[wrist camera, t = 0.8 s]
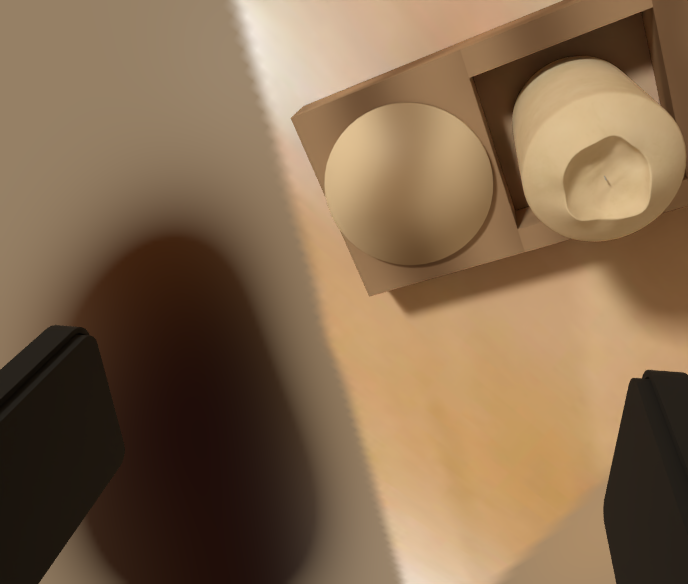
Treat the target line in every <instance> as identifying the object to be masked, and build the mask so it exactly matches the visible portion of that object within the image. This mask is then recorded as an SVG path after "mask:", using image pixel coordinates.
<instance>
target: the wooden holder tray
mask: <svg viewBox="0 0 688 584" xmlns="http://www.w3.org/2000/svg"><path fill="white" fill-rule="evenodd" d="M639 12H641V13H642V17H643V22H644V27H645V32H646V37H647V42H648V46H649V51H650V56H651V61H652V66H653V71H654V75H655V80H656V85H657V90H658V95H659V100H660V104H661V106H662V107H663V108H664V109H665V110H666V111H667V112H668V113H669V114H670V115H671V117H672V118H673V119H674V120H675V122H676V123H677V125H678V126H679V129H680V131H681V133H682V135H683V139H684V142H685V147H686V168H685V173H684V177H683V180H682V183H681V186H680V188H679V190H678V192H677V194H676V195H675V197H674V199H673V200H672V202H671V203H670V204H669V206H668V207H667V208H666V209H665V210H664V211H663V212H662V213H665V212H668V211H672V210H675V209H679V208H682V207H686V206H688V0H563V1H561V2H558V3H556V4H553V5H551V6H549V7H546V8H544V9H541V10H539V11H536V12H534V13H531V14H529V15H526V16H524V17H522V18H519V19H517V20H514V21H512V22H509V23H507V24H504V25H502V26H499V27H497V28H495V29H492V30H490V31H487V32H485V33H482V34H480V35H477V36H475V37H472V38H470V39H468V40H465V41H463V42H460V43H458V44H455V45H453V46H450V47H448V48H445V49H443V50H441V51H438V52H436V53H433V54H431V55H428V56H426V57H423V58H421V59H418V60H416V61H414V62H411V63H409V64H406V65H404V66H401V67H399V68H396V69H394V70H391V71H389V72H387V73H384V74H382V75H379V76H377V77H374V78H372V79H369V80H367V81H364V82H362V83H360V84H357V85H355V86H352V87H350V88H347V89H345V90H342V91H340V92H337V93H335V94H333V95H330V96H328V97H325V98H323V99H320V100H318V101H315V102H313V103H310V104H308V105H306V106H303V107H302V108H301V109H300V110H299V111H298V112H297V113H296V114H295V115H294V116H292V117H291V120H292V122H293V124H294V127H295V129H296V131H297V133H298V136H299V138H300V140H301V142H302V145H303V147H304V149H305V152H306V154H307V156H308V158H309V161H310V163H311V165H312V167H313V170H314V172H315V174H316V177H317V179H318V181H319V183H320V186H321V188H322V190H323V193H324V195H325V197H326V200H327V205H328V208H329V210H330V213H331V215H332V217H333V219H334V221H335V223H336V225H337V226H338V228H339V229H340V231H341V233H342V236H343V238H344V240H345V243H346V245H347V247H348V249H349V252H350V254H351V256H352V258H353V261H354V263H355V265H356V268H357V270H358V272H359V274H360V277H361V279H362V281H363V283H364V286H365V288H366V290H367V293H368V295H369V296H373V295H376V294H380V293H383V292H387V291H391V290H394V289H398V288H401V287H405V286H408V285H412V284H415V283H419V282H422V281H426V280H429V279H433V278H436V277H440V276H443V275H447V274H450V273H454V272H457V271H461V270H464V269H468V268H471V267H475V266H478V265H482V264H485V263H489V262H493V261H496V260H500V259H503V258H507V257H510V256H514V255H517V254H521V253H524V252H528V251H531V250H535V249H538V248H542V247H545V246H549V245H552V244H556V243H559V242H563V241H566V240H570V239H571V238H567V237H565V236H562V235H560V234H558V233H556V232H554V231H553V230H551V229H549V228H548V227H547V226H545V225H544V224H543V223H542V222H541V221H540V220H539V219H538V218H537V217H536V215H535V214H534V213H533V212H532V210H531V208H530V206H529V207H526V208H523V209H520V210H516V211H515V209H514V206H513V203H512V199H511V196H510V193H509V190H508V187H507V184H506V181H505V177H504V174H503V171H502V168H501V165H500V162H499V159H498V155H497V152H496V149H495V146H494V143H493V140H492V137H491V133H490V130H489V127H488V124H487V121H486V118H485V115H484V111H483V108H482V105H481V102H480V99H479V96H478V93H477V89H476V86H475V83H474V80H473V76H476V75H478V74H481V73H484V72H486V71H489V70H491V69H494V68H497V67H499V66H502V65H504V64H507V63H509V62H512V61H515V60H517V59H520V58H522V57H525V56H528V55H530V54H533V53H535V52H538V51H541V50H543V49H546V48H548V47H551V46H553V45H556V44H559V43H561V42H564V41H566V40H569V39H572V38H574V37H577V36H579V35H582V34H585V33H587V32H590V31H592V30H595V29H597V28H600V27H603V26H605V25H608V24H610V23H613V22H616V21H618V20H621V19H623V18H626V17H629V16H631V15H634V14H636V13H639Z"/></svg>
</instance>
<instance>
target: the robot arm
mask: <svg viewBox="0 0 688 584" xmlns="http://www.w3.org/2000/svg"><path fill="white" fill-rule="evenodd" d="M124 453H125V447H124V442H123V438H122V434H121V431H120V427H119V424H118V419H117V416H116V412H115V408H114V405H113V401H112V397H111V393H110V390H109V386H108V382H107V378H106V375H105V371H104V367H103V363H102V359H101V355H100V352H99V348H98V344H97V341H96V339H95V338H94V337H92V336H90V335H89V333H88V332H87V330H86V329H84V328H82V327H71V326H59V325H55V326H50V327H49V328H47V329H46V330H45V331H44V332H43V333H41V334H40V335H39V336H38V337H37V338H36V339H35V340H33V342H31V343H30V344H29V345H28V346H27V347H25V348H24V349H23V350H22V351H21V352H20V353H19V354H18V355H16V356H15V357H14V358H13V359H12V360H11V361H10V362H9V363H7V364H6V365H5V366H4V367H3V368H2V369H1V370H0V584H38V583H39V582H40V581H41V579H42V578H43V576H44V575H45V574H46V572H47V571H48V569H49V568H50V566H51V565H52V563H53V562H54V561H55V559H56V558H57V556H58V555H59V553H60V552H61V550H62V549H63V547H64V546H65V544H66V543H67V542H68V540H69V539H70V537H71V536H72V535H73V533H74V532H75V530H76V529H77V527H78V526H79V525H80V523H81V522H82V520H83V519H84V517H85V516H86V514H87V513H88V511H89V510H90V509H91V507H92V506H93V504H94V503H95V502H96V500H97V498H98V497H99V496H100V494H101V493H102V491H103V490H104V489H105V487H106V486H107V484H108V483H109V481H110V480H111V478H112V477H113V476H114V474H115V473H116V471H117V470H118V468H119V467H120V465H121V463H122V461H123V458H124ZM604 524H605V529H606V534H607V539H608V544H609V548H610V554H611V559H612V564H613V569H614V574H615V579H616V584H688V375H687V374H686V373H682V372H669V371H656V370H646V371H645V372H644V374H643V377H642V379H640V378H632V379H631V380H630V383H629V386H628V391H627V396H626V400H625V405H624V410H623V414H622V419H621V424H620V428H619V433H618V438H617V442H616V447H615V452H614V456H613V461H612V466H611V470H610V475H609V480H608V484H607V489H606V494H605V499H604Z"/></svg>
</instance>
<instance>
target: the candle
mask: <svg viewBox="0 0 688 584" xmlns="http://www.w3.org/2000/svg"><path fill="white" fill-rule="evenodd" d="M512 128H513V137H514V142H515V148H516V153H517V159H518V164H519V170H520V175H521V181H522V186H523V190H524V195H525V197H526V200H527V203H528V205H529V206H530V208H531V210H532V212H533V213H534V214H535V215H536V217H537V218H538V219H539V220H540V221H541V222H542V223H543V224H544V225H545V226H547V227H548V228H549V229H551V230H553V231H554V232H556V233H558V234H560V235H562V236H565V237H567V238H571V239H575V240H580V241H587V242H599V241H609V240H613V239H618V238H621V237H624V236H627V235H630V234H632V233H634V232H636V231H638V230H640V229H642V228H643V227H645V226H647V225H648V224H649V223H651V222H652V221H653V220H655V219H656V218H657V217H658V216H659V215H660V214H661V213H662V212H663V211H664V210H665V209H666V208H667V207H668V206H669V204H670V203H671V202H672V200H673V199H674V197H675V195H676V194H677V192H678V190H679V188H680V186H681V183H682V180H683V177H684V173H685V168H686V147H685V142H684V139H683V135H682V133H681V131H680V129H679V126H678V125H677V123H676V122H675V120H674V119H673V118H672V117H671V115H670V114H669V113H668V112H667V111H666V110H665V109H664V108H663V107H662V106H660V105H659V104H658V103H657V102H656V101H655V100H654V99H653V98H651V97H650V96H649V95H648V94H647V93H646V92H645V91H644V90H642V89H641V88H640V87H639V86H638V85H637V84H636V83H635V82H633V81H632V80H631V79H630V78H629V77H628V76H627V75H626V74H624V73H623V72H622V71H621V70H620V69H618V68H617V67H616V66H614V65H613V64H611V63H609V62H608V61H605V60H603V59H600V58H596V57H592V56H571V57H566V58H562V59H559V60H556V61H554V62H552V63H550V64H548V65H546V66H544V67H543V68H541V69H540V70H539V71H537V72H536V73H535V74H534V75H533V76H532V77H531V78H530V79H529V80H528V82H527V83H526V84H525V85H524V87H523V88H522V90H521V92H520V93H519V96H518V98H517V100H516V103H515V106H514V110H513V116H512Z"/></svg>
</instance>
